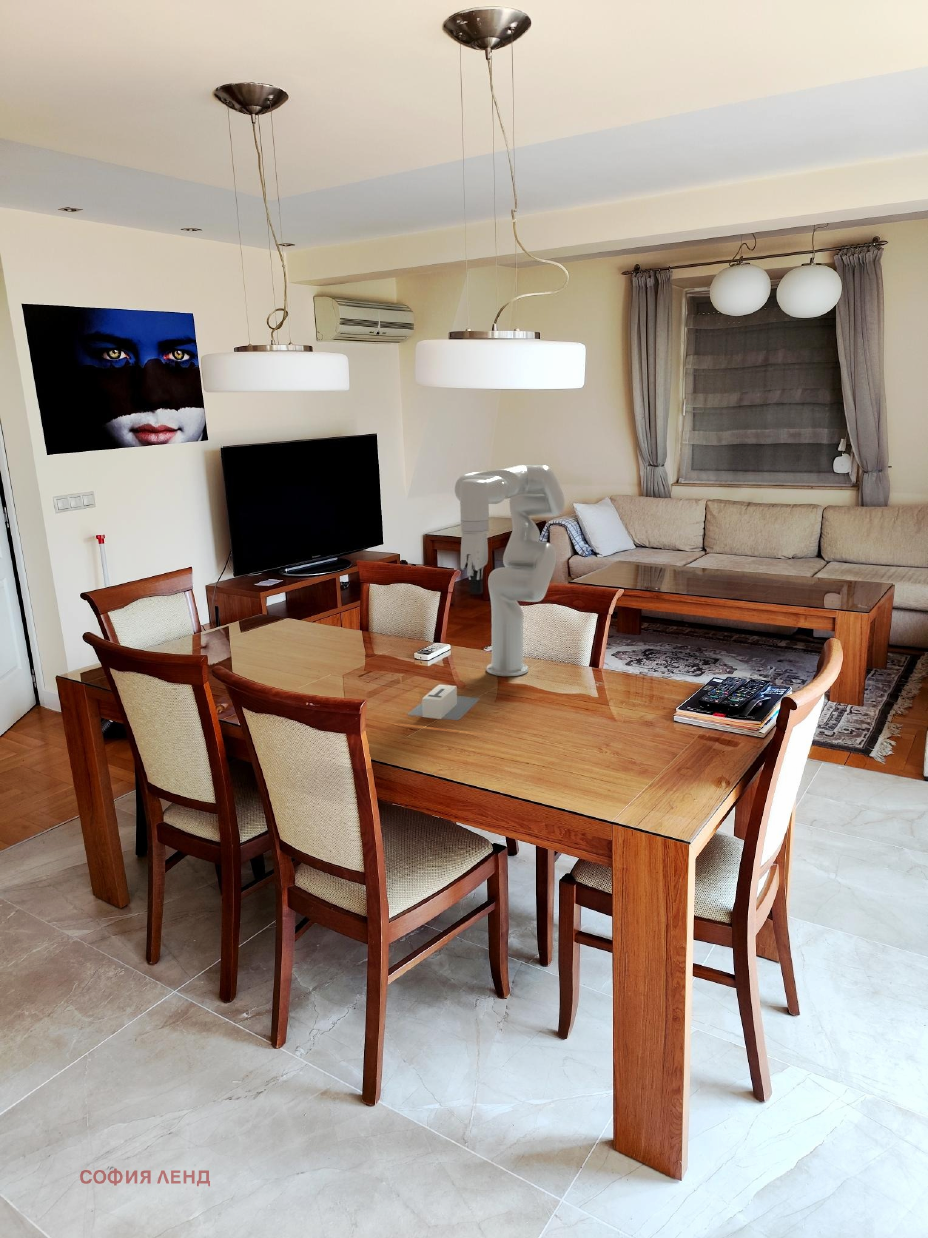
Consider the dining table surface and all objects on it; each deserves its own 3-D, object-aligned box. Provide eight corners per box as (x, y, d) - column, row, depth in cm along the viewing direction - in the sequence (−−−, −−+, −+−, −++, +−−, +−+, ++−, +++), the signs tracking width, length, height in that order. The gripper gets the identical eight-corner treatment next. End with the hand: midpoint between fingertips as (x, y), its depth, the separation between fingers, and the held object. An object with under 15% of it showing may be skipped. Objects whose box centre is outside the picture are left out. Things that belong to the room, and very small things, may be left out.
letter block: (439, 683, 225) (422, 697, 214) (456, 685, 224) (440, 699, 213) (439, 702, 226) (422, 717, 215) (456, 704, 225) (440, 719, 214)
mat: (432, 695, 234) (432, 693, 234) (480, 700, 230) (480, 698, 229) (407, 716, 218) (407, 714, 217) (458, 722, 213) (458, 720, 213)
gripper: (470, 521, 233) (472, 586, 238) (451, 530, 219) (453, 599, 224) (496, 522, 231) (497, 588, 235) (479, 531, 217) (480, 600, 222)
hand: (476, 593), depth 230 cm, fingers closed
